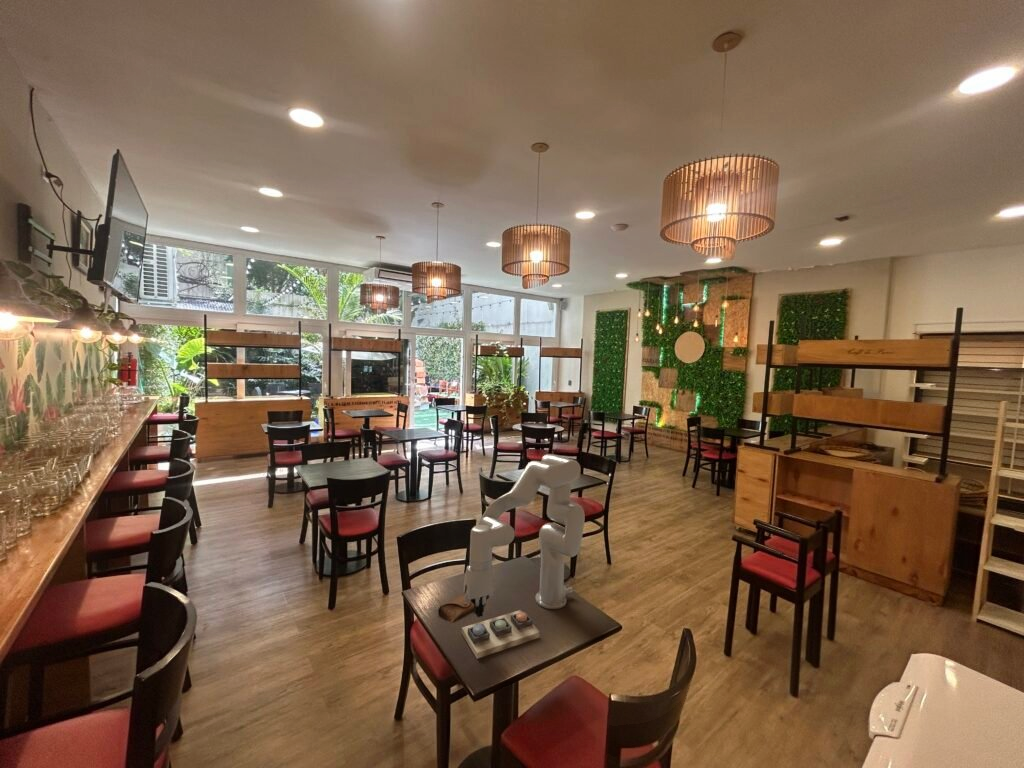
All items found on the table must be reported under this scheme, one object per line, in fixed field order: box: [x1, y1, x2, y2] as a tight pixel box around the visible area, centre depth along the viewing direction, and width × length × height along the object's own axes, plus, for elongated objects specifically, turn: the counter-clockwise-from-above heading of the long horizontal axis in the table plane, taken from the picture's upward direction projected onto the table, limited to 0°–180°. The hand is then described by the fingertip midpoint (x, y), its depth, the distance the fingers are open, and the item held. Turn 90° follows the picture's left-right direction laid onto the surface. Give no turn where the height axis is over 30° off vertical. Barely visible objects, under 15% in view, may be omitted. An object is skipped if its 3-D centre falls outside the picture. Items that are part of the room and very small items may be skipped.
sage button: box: [495, 620, 506, 630], centre depth 147 cm, size 4×4×2 cm
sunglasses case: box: [437, 594, 486, 624], centre depth 162 cm, size 18×7×7 cm, turn 137°
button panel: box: [461, 609, 541, 659], centre depth 147 cm, size 24×14×4 cm, turn 118°
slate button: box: [473, 625, 485, 637], centre depth 143 cm, size 4×4×2 cm
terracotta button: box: [516, 611, 528, 623], centre depth 151 cm, size 4×4×2 cm
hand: (478, 614), depth 142 cm, fingers closed
